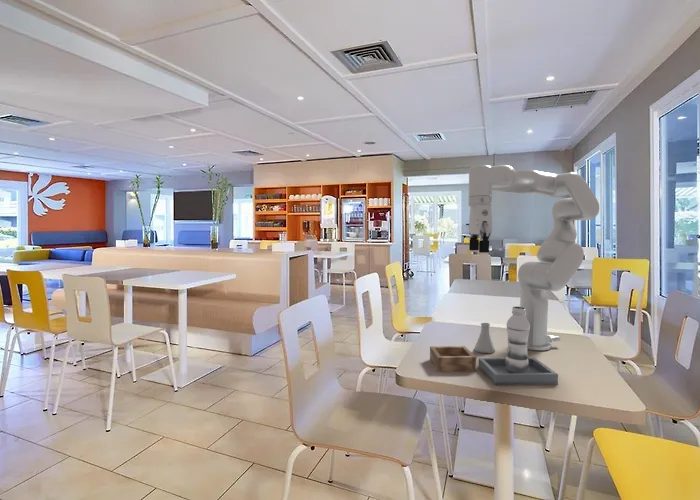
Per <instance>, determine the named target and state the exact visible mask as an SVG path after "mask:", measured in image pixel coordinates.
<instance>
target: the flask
mask: <svg viewBox="0 0 700 500" xmlns="http://www.w3.org/2000/svg"><path fill="white" fill-rule="evenodd" d="M480 326H481V327H480V328H481V329H480V333H479V337H478V338H477V342H476V343H475V346H474V350H475V352H477V353H482V354H493V353H495V352H496V349H495V346H494V343H493V340H492V336H491V334H490V326H491V323H489V322H480Z"/></svg>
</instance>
